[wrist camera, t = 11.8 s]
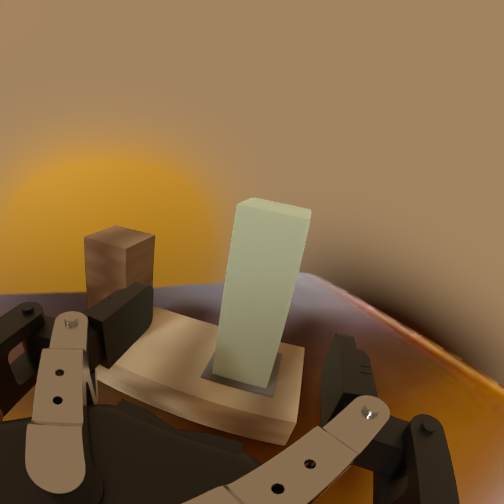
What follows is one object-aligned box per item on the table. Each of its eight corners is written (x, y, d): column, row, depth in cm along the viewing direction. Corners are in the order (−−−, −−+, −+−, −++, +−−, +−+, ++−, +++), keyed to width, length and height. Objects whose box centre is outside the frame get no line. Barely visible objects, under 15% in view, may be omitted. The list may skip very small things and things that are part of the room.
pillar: (212, 373, 19) (237, 204, 15) (227, 343, 23) (252, 197, 19) (266, 388, 19) (310, 219, 15) (274, 356, 22) (311, 209, 19)
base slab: (75, 367, 19) (56, 244, 16) (127, 320, 28) (127, 219, 24) (285, 446, 17) (337, 323, 13) (296, 371, 25) (329, 264, 22)
